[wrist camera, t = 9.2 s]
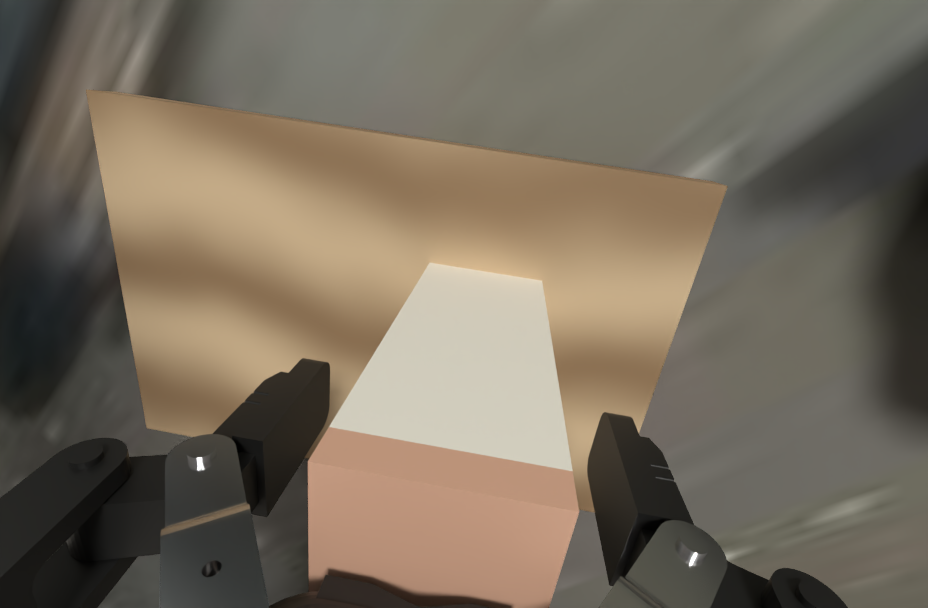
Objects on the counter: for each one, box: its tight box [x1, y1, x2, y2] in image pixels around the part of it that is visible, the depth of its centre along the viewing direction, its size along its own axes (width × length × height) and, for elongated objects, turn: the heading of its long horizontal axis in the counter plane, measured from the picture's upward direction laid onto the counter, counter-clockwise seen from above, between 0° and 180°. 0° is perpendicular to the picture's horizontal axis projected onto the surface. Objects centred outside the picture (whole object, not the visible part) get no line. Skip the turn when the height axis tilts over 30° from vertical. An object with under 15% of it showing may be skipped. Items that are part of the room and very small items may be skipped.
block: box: [308, 263, 579, 608], centre depth 12 cm, size 6×4×10 cm, turn 172°
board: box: [86, 90, 728, 512], centre depth 18 cm, size 14×21×1 cm, turn 82°
